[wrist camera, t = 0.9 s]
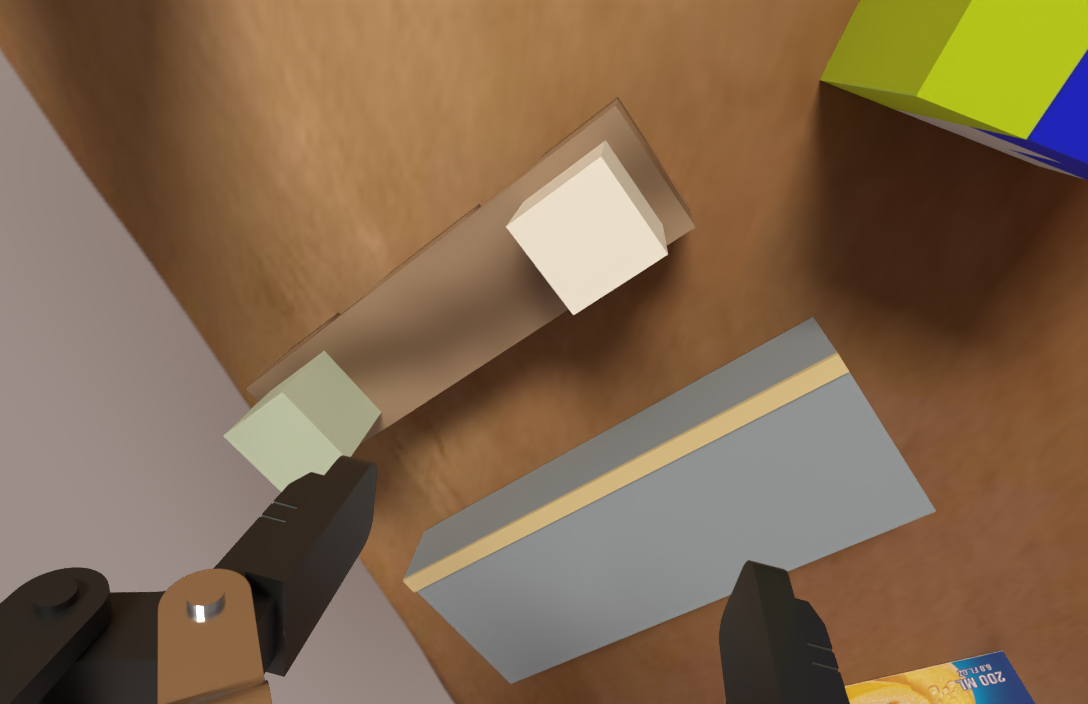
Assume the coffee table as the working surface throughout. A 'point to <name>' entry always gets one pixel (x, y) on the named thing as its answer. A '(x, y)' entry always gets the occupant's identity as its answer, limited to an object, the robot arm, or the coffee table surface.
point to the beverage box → (947, 684)
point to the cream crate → (589, 229)
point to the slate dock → (670, 509)
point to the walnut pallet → (469, 286)
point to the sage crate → (304, 423)
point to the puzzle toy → (977, 71)
